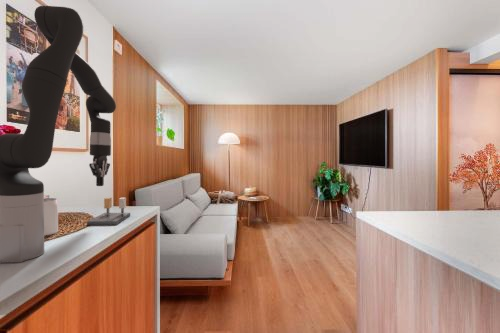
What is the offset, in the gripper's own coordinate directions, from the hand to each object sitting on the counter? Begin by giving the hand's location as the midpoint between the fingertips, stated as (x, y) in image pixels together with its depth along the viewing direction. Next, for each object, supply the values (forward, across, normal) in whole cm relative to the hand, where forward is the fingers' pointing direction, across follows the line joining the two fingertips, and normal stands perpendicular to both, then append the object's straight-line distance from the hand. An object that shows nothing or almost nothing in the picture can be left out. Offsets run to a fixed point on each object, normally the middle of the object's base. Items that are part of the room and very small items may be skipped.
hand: (99, 185), depth 103 cm
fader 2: (+13, +7, -6) cm, 16 cm away
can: (+16, -16, +10) cm, 24 cm away
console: (+15, +2, -3) cm, 15 cm away
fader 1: (+13, +7, 0) cm, 15 cm away
